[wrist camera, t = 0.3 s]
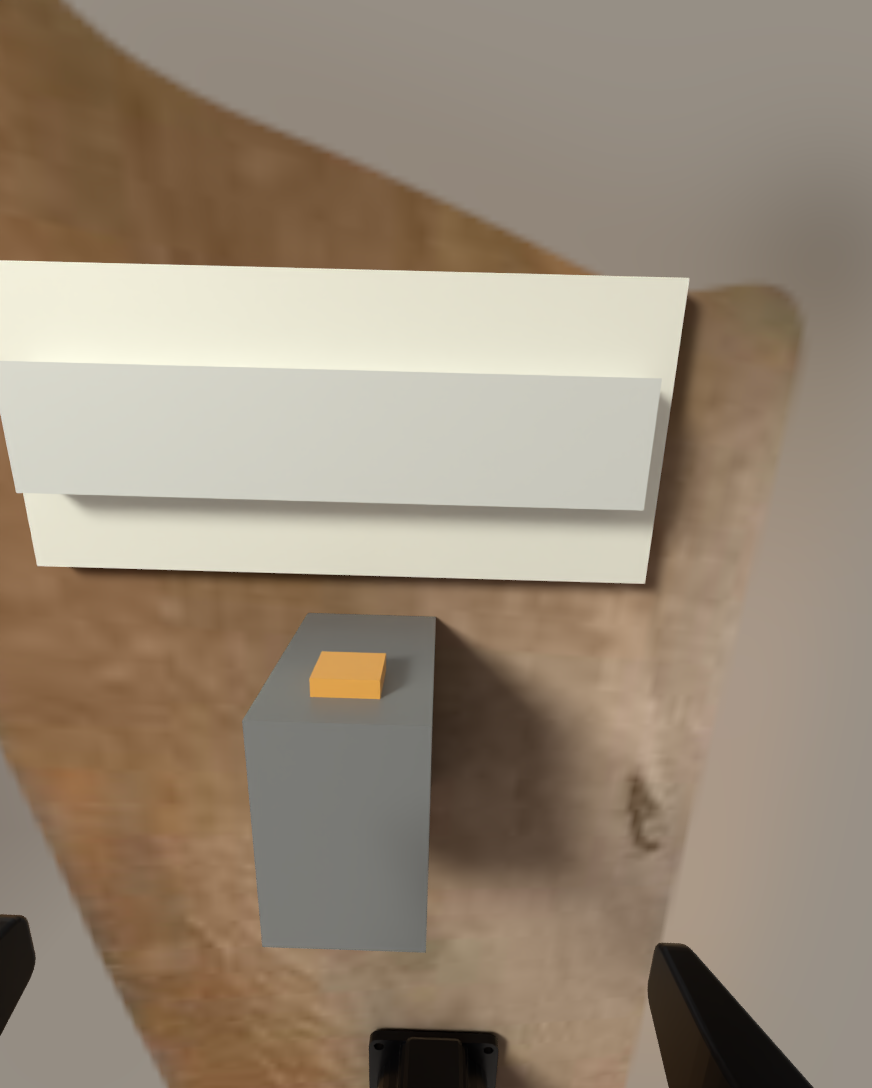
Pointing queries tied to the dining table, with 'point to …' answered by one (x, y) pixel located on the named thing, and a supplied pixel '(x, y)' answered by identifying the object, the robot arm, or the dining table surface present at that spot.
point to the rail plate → (345, 340)
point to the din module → (344, 784)
